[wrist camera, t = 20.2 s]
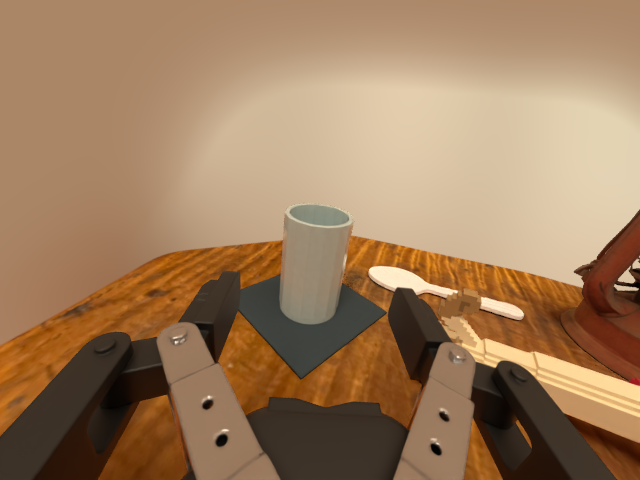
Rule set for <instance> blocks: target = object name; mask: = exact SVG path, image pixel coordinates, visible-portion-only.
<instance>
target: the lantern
mask: <svg viewBox="0 0 640 480" xmlns="http://www.w3.org/2000/svg"><path fill="white" fill-rule="evenodd" d="M611 246H612V247H611ZM610 247H611V248H610ZM609 248H610V249H609ZM639 256H640V210H639V211H638V212H637V213H636V215H635V216H634V217H633V218H632V220H631V221H630V222H629V223H628V224H627V225H626V226H625V227H624V228H623V229H622V230H621V231H620V232H619V233H618V234H617V235H616V236H615V237H614V238H613V239H612V240H611V241H610V242H609V243H608V244H607V245H606V246H605V248H604V249H603V250H602V251H601V252H600V254H599V255H598V256H597V259H596V260H594V261H592V262H591V263H590V264H587V265H582V266H581V267H579V268H578V269H576V270H575V271H574V273H576V274H578V275H580V276H583V277H582V278H581V279H582V280H583V282H584V285H583V289H582V295H583V297H584V299H583V301H582V302H581V303H580V305H579V306H578V307H576V308H572V309H569V310H567V311H565V312H563V313H562V314H561V316H560V321H561V325H562V326H563V327H564V329H565V330H566V332H567V333H568V334H569V336H570V337H571V338H572V339H573V340H574V341H575V342H577V344H578V345H579V346H580V347H581V348H583V349H584V350H585V351H586V352H588V353H589V354H590V355H592V356H593V357H594V358H595V359H597V360H598V361H599V362H601V363H602V364H604V365H605V366H607V367H608V368H610V369H611V370H612V371H614V372H616V373H618V374H619V375H621V376H622V377H624V378H626V379H627V380H629V381H630V380H631V379H632V378H633V379H636V378H637V379H640V268H636V269H632V264H633V262H634V261H635V260H636V259H640V258H639ZM638 262H639V263H640V260H639V261H638ZM630 266H631V268H630V270H629V272H630V273H631V275H632V276H633V277H634V279H635V280H636V281H635V282H634V283H632V284H631V283H625V282H619V281H617V280H618V278H619V277H620V276H621V275H622V274H623V273H624V272H625V271H626V270H627V269H628V268H629V267H630ZM589 269H590V270H589ZM614 284H616V285H621V286H629V287H636V288H639V290H638V291H618V290H617V289H616V288H615V287H614Z"/></svg>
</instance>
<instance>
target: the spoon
mask: <svg viewBox="0 0 640 480" xmlns="http://www.w3.org/2000/svg"><path fill="white" fill-rule="evenodd" d="M368 275H369V277H370V278H371V279H372V280H373V281H375V282H376V283H377V284H379V285H381V286H383V287H385V288H387V289H389V290H392V291H394V292H395V289H396V288H397V287H403V288H412V289H413V290H414V292H415V293H416V295H419V294H422V293H426V292H428V293H432V294H435V295H439V296H441V297H444V298H447V295H448V294H449V295H452V294H453V292H454V293H458V291H456V290H455V291H454V290H451V289H449V288H448V289H447V288H442V287H439V286H435V285H431V284H429V283H426V282H424V280H423V279H421V278H420V277H419V276H416V275H415V274H413V273H411V272H410V271H409V272H408V271H405V270H403V269H400V268H395V267H385V266H384V267H383V266H380V267H376V266H375V267H372V268H370V269H369V272H368ZM481 301H482V303H481V306H480V309H483V310H486V311H490V312H493V313H496V314H500V315H503V316H506V317H509V318H512V319H516V320H521V319H522V318H523V316H524V313H523V311H521V310H520V309H519V308H517V307H516V306H515V305H514V306H513V305H512V304H508V303H504V302H499V301H496V300H491V299H488V298H487V297H486V298H483V297H481Z"/></svg>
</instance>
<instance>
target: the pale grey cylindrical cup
mask: <svg viewBox="0 0 640 480" xmlns="http://www.w3.org/2000/svg"><path fill="white" fill-rule="evenodd" d="M353 222H354V220H353V216H352V215H351V214H349V213H348V212H346V211H344V210H342V209H339V208H337V207H333V206H328V205H323V204H315V203H309V204H308V203H303V204H297V205H292V206H290V207H288V208H287V209H286V211H285V218H284V233H283V248H282V263H281V279H280V294H279V305H280V309H281V311H282V312H283V313H284V315H285V316H287V317H288V318H289V319H291V320H293V321H295V322H298V323H302V324H310V325H311V324H320V323H323V322H326V321H328V320H329V319H331V318H332V317H333V316H334V314H335V312H336V309H337V306H338V302H339V296H340V291H341V286H342V281H343V275H344V270H345V265H346V259H347V254H348V249H349V244H350V238H351V233H352V228H353Z"/></svg>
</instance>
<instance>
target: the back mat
mask: <svg viewBox="0 0 640 480" xmlns="http://www.w3.org/2000/svg"><path fill="white" fill-rule="evenodd" d="M280 279H281V274H280V275H278V276H275V277H273V278H270V279H267V280H265V281H262V282H259V283H257V284H254V285H252V286H249V287H246V288H244V289H241V290H240V304H239V308H238V310H239V311H240V313H241V314H242V315H243V316H244V317H245V318H246V319H247V320H248V321H249V322H250V324H251V325H252V326H253V327H254V328H255V329H256V330H257V331H258V332H259V334H260V335H261V336H262V337H263V338H264V339H265V340H266V341H267V342H268V343H269V345H270V346H271V347H272V348H273V349H274V350H275V351H276V352H277V353H278V354H279V356H280V357H281V358H282V359H283V360H284V361H285V362H286V363H287V364H288V365H289V367H290V368H291V369H292V370H293V371H294V372H295V373H296V374H297V375H298V377H299V378H300V379H302V378H303V377H305V376H306V375H307V374H308V373H310V372H311V371H312V370H314V369H315V368H316V367H317V366H319V365H320V364H321V363H323V362H324V361H325V360H327V359H328V358H329V357H330V356H332V355H333V354H334V353H336V352H337V351H338V350H339V349H341V348H342V347H343V346H345V345H346V344H347V343H349V342H350V341H351V340H352V339H354V338H355V337H356V336H358V335H359V334H360V333H361V332H363V331H364V330H365V329H367V328H368V327H369V326H371V325H372V324H373V323H374V322H376V321H377V320H378V319H380V318H381V317H382V316H384V315H385V314H386V313H387V312H386V311H385V310H383V309H382V308H380V307H378V306H377V305H375V304H374V303H372V302H371V301H369V300H368V299H366V298H365V297H363V296H361V295H360V294H358V293H357V292H355V291H354V290H352V289H351V288H349V287H348V286H346V285H344V284H343V283H342V286H341V291H340V296H339V302H338V306H337V309H336V312H335V314H334V316H333V317H332V318H331V319H329V320H328V321H326V322H323V323H320V324H311V325H310V324H302V323H298V322H295V321H293V320H291V319H289V318H288V317H287V316H285V315H284V313H283V312H282V311H281V309H280V305H279V294H280Z"/></svg>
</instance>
